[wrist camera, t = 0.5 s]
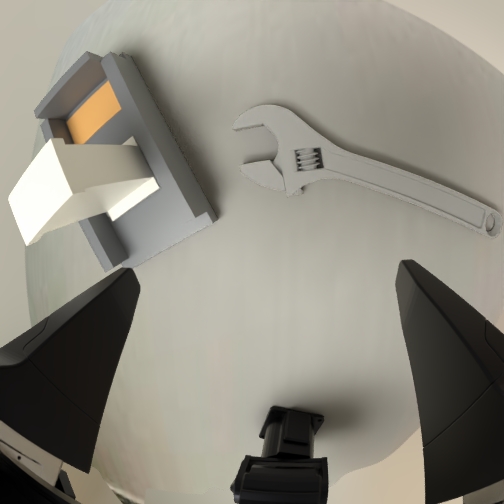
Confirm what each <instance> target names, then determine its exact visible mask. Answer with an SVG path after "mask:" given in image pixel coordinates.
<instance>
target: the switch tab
mask: <svg viewBox="0 0 504 504" xmlns="http://www.w3.org/2000/svg"><path fill="white" fill-rule="evenodd" d="M159 189H161V187H160V185H159V183H158V181H157V179H156V177H155V175H154V173H153V171H152V169H151V167H150V165H149V163H148V161H147V160H146V158H145V156H144V154H143V152H142V150H141V148H140V146H139V144H138V142H137V140H136V138H135V136H132V137H131V138H129V139H128V140H127V141H126V142H124V143H123V144H122V145H105V144H66V145H65V142H64V140H63V138H50V140H49V141H48V142H47V143H46V145H45V146H44V147H43V148H42V150H41V151H40V152H39V154H38V155H37V156H36V158H35V159H34V160H33V162H32V163H31V164H30V166H29V167H28V169H27V170H26V171H25V173H24V174H23V176H22V177H21V179H20V180H19V182H18V183H17V185H16V186H15V188H14V189H13V191H12V193H11V194H10V196H9V197H8V200H9V202H10V205H11V208H12V211H13V214H14V216H15V219H16V222H17V224H18V227H19V229H20V232H21V234H22V236H23V239H24V241H25V243H26V246H28V245H30V244H33V243H35V242H37V241H38V240H39V239H40V238H41V237H42V236H43V234H44V233H46V232H49V231H52V230H55V229H57V228H60V227H63V226H66V225H68V224H71V223H74V222H77V221H80V220H83V219H86V218H89V217H92V216H95V215H98V214H101V213H104V212H108V213H109V215H110V217H111V219H112V221H115V220H117V219H118V218H120V217H121V216H122V215H124V214H125V213H126V212H128V211H129V210H131V209H132V208H133V207H135V206H136V205H138V204H139V203H140V202H142V201H143V200H145V199H146V198H147V197H149V196H150V195H152V194H153V193H155V192H156V191H158V190H159Z"/></svg>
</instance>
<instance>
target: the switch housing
mask: <svg viewBox="0 0 504 504" xmlns="http://www.w3.org/2000/svg"><path fill="white" fill-rule="evenodd" d="M34 112H35V116H36V118H41V119H45V120H44V122H43V123H42V124H41V125H40V126H41V129H42V132H43V135H44V138H45V141H46V143H47V142H48V141H49V140H50V138H63V140H64V142H65V145H66V144H105V145H122V144H123V143H124V142H126V141H127V140H128V139H129V138H131V137H132V136H135V138H136V140H137V142H138V144H139V146H140V148H141V150H142V152H143V154H144V156H145V158H146V160H147V161H148V163H149V165H150V167H151V169H152V171H153V173H154V175H155V177H156V179H157V181H158V183H159V185H160V187H161V189H159V190H158V191H156V192H155V193H153V194H152V195H150V196H149V197H147V198H146V199H145V200H143V201H142V202H140V203H139V204H138V205H136V206H135V207H133V208H132V209H131V210H129V211H128V212H126V213H125V214H124V215H122V216H121V217H120V218H118V219H117V220H115V221H112V219H111V217H110V215H109V213H108V212H104V213H101V214H98V215H95V216H92V217H89V218H86V219H83V220H80V221H78V222H79V224H80V226H81V228H82V230H83V232H84V234H85V236H86V238H87V240H88V242H89V244H90V246H91V247H92V249H93V251H94V253H95V255H96V257H97V259H98V260H99V262H100V264H101V266H102V268H103V269H104V271H105V273H106V272H107V271H109V270H111V269H112V268H114V267H115V266H117V265H119V264H120V263H121V264H122V266H123V267H130V268H132V269H133V268H134V267H136V266H138V265H140V264H141V263H143V262H145V261H146V260H148V259H150V258H152V257H153V256H155V255H157V254H158V253H160V252H162V251H164V250H165V249H167V248H169V247H171V246H172V245H174V244H176V243H178V242H180V241H181V240H183V239H185V238H187V237H189V236H190V235H192V234H194V233H196V232H198V231H199V230H201V229H203V228H205V227H207V226H208V225H210V224H212V223H214V222H215V221H217V220H218V218H217V216H216V214H215V213H214V211H213V209H212V207H211V205H210V204H209V202H208V200H207V198H206V196H205V194H204V193H203V191H202V189H201V187H200V185H199V183H198V182H197V180H196V178H195V176H194V174H193V172H192V170H191V169H190V167H189V165H188V163H187V161H186V159H185V157H184V156H183V154H182V152H181V150H180V148H179V146H178V144H177V143H176V141H175V139H174V137H173V135H172V133H171V131H170V129H169V128H168V126H167V124H166V122H165V120H164V118H163V116H162V114H161V112H160V111H159V109H158V107H157V105H156V103H155V101H154V99H153V97H152V95H151V93H150V92H149V90H148V88H147V86H146V84H145V82H144V80H143V78H142V76H141V74H140V72H139V70H138V69H137V67H136V65H135V63H134V61H133V59H132V57H131V56H129V55H127V54H125V53H122V54H120V55H116V54H114V53H112V52H110V53H108V54H107V55H106V56H105V57H104V58H103V57H100V56H98V55H95V54H93V53H90V52H88V51H86V52H85V53H84V54H83V55H82V56H81V57H80V58H79V59H78V60H77V61H76V62H75V63H74V64H73V65H72V66H71V68H70V69H69V70H68V71H67V72H66V73H65V74H64V75H63V76H62V77H61V78H60V80H59V81H58V82H57V83H56V84H55V85H54V86H53V88H52V89H51V90H50V91H49V92H48V94H47V95H46V96H45V97H44V98H43V100H42V101H41V102H40V104H39V105H38V106H37V107H36V109H35V110H34Z"/></svg>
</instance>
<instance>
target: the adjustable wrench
mask: <svg viewBox="0 0 504 504" xmlns="http://www.w3.org/2000/svg"><path fill="white" fill-rule="evenodd" d="M260 126H266V127H267V128H268V129H269V130H270V132H271V133H272V134H273V135H274V136H275V137H276V138H277V143H278V153H277V155H276V157H275V159H274V161H273V162H272V161H271V160H265V161H259V162H253V163H248V164H243V165H239V168H240V172H241V173H242V174H243V175H244V176H246V177H247V178H248V179H250V180H251V181H253V182H254V183H256V184H258V185H260V186H262V187H265V188H269V189H273V190H278V191H286V195H287V197H290V196H292V195H299V194H303V190H301V188H302V186H304V185H306V184H309V183H312V182H315V181H318V180H322V179H340V180H345V181H349V182H352V183H355V184H358V185H361V186H364V187H367V188H370V189H373V190H376V191H378V192H381V193H384V194H387V195H390V196H392V197H395V198H398V199H400V200H403V201H406V202H408V203H411V204H413V205H416V206H419V207H421V208H424V209H426V210H428V211H431V212H433V213H436V214H438V215H440V216H443V217H445V218H447V219H450V220H452V221H454V222H456V223H459V224H461V225H463V226H465V227H467V228H470V229H472V230H474V231H476V232H478V233H480V234H482V235H484V236H486V237H488V238H491V239H493V238H496V237H497V236H498V235H499V234H500V232H501V229H502V225H503V224H502V216H501V215H500V213H499V212H498V211H496V210H494V209H492V208H490V207H489V206H487V205H485V204H483V203H480V202H478V201H476V200H474V199H472V198H470V197H468V196H466V195H464V194H461V193H459V192H457V191H455V190H452V189H450V188H448V187H445V186H443V185H441V184H438V183H436V182H433V181H431V180H429V179H426V178H423V177H421V176H418V175H416V174H413V173H410V172H408V171H405V170H402V169H399V168H397V167H394V166H391V165H388V164H385V163H382V162H379V161H376V160H373V159H370V158H366V157H363V156H360V155H357V154H353V153H351V152H348V151H345V150H343V149H341V148H339V147H338V146H336V145H334V144H333V143H331V142H330V141H329V140H327V139H326V138H324V137H323V136H322V135H320V134H319V133H317V132H316V131H315V130H313V129H312V128H311V127H310V126H308V125H307V124H306V123H305V122H304V121H303V120H301V119H300V118H299V117H298V116H296V115H295V114H294V113H293V112H292V111H290V110H288V109H286V108H283V107H281V106H277V105H259V106H256V107H253V108H251V109H249V110H247V111H246V112H244V113H242V114H241V115H240V116H239V117H238V118H237V119H236V120H235V121H234V123H233V130H235V131H240V130H245V129H250V128H255V127H260ZM315 148H320V152H321V158H322V164H323V168H319V169H317V165H319V164H320V163H318V162H316V160H318V159H319V158H318V157H315V155H316V154H318V152H314V149H315ZM298 150H299V151H298ZM298 154H299V156H298ZM298 159H300V162H299V160H298ZM299 164H301V167H299ZM300 169H302V170H301V171H300ZM490 214H492V215H493V216H494V226H493V228H492V230H491V231H489V232H488V231H486V220H487V218H488V216H489V215H490Z"/></svg>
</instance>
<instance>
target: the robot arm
mask: <svg viewBox="0 0 504 504" xmlns="http://www.w3.org/2000/svg"><path fill="white" fill-rule="evenodd" d="M395 285H396V292H397V298H398V304H399V311H400V317H401V324H402V330H403V334H404V338H405V342H406V347H407V351H408V356H409V360H410V365H411V370H412V375H413V380H414V385H415V391H416V397H417V403H418V410H419V417H420V424H421V433H422V442H423V447H424V448H423V455H424V469H425V470H424V471H425V504H438V503H442V502H445V501H449V500H452V499H455V498H458V497H461V496H463V504H504V334H503V333H502V332H500V330H498V329H497V328H496V327H495V326H494V325H493V324H492V323H491V322H489V321H488V320H486V318H485V317H484V316H483V315H481V314H480V313H479V312H478V311H477V310H476V309H475V308H473V307H472V306H471V305H470V304H469V303H467V302H466V301H465V300H464V299H463V298H461V297H460V296H459V295H458V294H457V293H455V292H454V291H453V290H452V289H450V288H449V287H448V286H447V285H445V284H444V283H443V282H442V281H440V280H439V279H438V278H437V277H435V276H434V275H433V274H431V273H430V272H429V271H427V270H426V269H425V268H423V267H422V266H421V265H419V264H418V263H417V262H415V261H414V260H402V261H400V264H399V268H398V273H397V277H396V283H395ZM139 294H140V284H139V282H138V279H137V277H136V275H135V273H134V271H133V269H132V268H130V267H122V268H120V269H118V270H117V271H115V272H113V273H112V274H110V275H109V276H107V277H106V278H104V279H103V280H101V281H99V282H98V283H96V284H95V285H93V286H92V287H90V288H89V289H87V290H86V291H84V292H83V293H81V294H80V295H78V296H77V297H75V298H74V299H72V300H71V301H69V302H68V303H66V304H65V305H64V306H62V307H61V308H59V309H58V310H56V311H55V312H53V313H52V314H51V315H50V316H48V317H46V318H45V319H43V320H42V321H41V322H39V323H38V324H36V325H35V326H33V327H32V328H31V329H29V330H28V331H26V332H25V333H23V334H21V335H20V336H18V337H17V338H16V339H14V340H12V341H11V342H9V343H8V344H6V345H5V346H3V347H1V348H0V504H81V503H79V502H78V501H76V500H75V498H76V497H75V494H74V492H73V489H72V487H71V484H70V481H69V479H68V476H67V473H66V472H65V471H63V470H62V469H61V468H62V465H63V462H65V463H67V464H69V465H71V466H73V467H75V468H77V469H79V470H81V471H83V472H85V473H87V474H89V472H90V468H91V463H92V458H93V454H94V449H95V445H96V441H97V436H98V432H99V428H100V424H101V420H102V416H103V413H104V409H105V405H106V402H107V398H108V395H109V391H110V388H111V385H112V382H113V378H114V375H115V372H116V369H117V366H118V363H119V360H120V356H121V354H122V351H123V348H124V345H125V342H126V339H127V336H128V333H129V330H130V327H131V324H132V320H133V316H134V313H135V309H136V305H137V301H138V298H139ZM323 422H324V416H322V415H316V414H309V413H303V412H298V411H292V410H287V409H282V408H277V407H272V408H270V410H269V412H268V415H267V417H266V420H265V422H264V424H263V427H262V429H261V431H260V434H259V437H260V438H262V439H265V440H264V445H263V450H262V456H261V457H254V456H251V455H246V456H245V459H244V460H243V461H242V463H241V466H240V469H239V471H238V474H237V476H236V478H235V480H234V482H233V483H232V485H231V487H230V490H231V491H232V492H233V493H234V501H235V503H237V504H327V498H328V484H329V483H328V463H327V457H322V458H313V454H314V436H315V434H316V433H317V431H318V429H319V428H320V426H321V425H322V423H323Z"/></svg>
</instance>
